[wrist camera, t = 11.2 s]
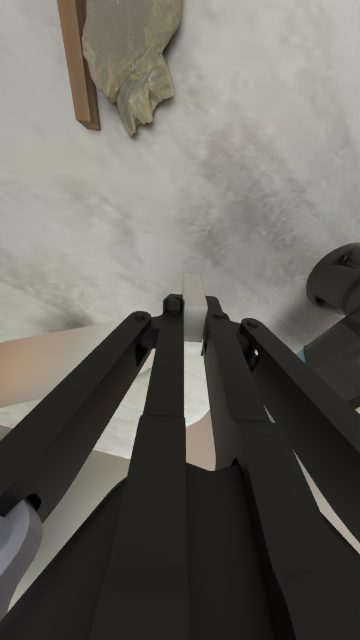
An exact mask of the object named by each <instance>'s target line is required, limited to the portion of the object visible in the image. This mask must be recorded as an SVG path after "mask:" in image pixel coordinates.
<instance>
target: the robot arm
mask: <svg viewBox="0 0 360 640" xmlns="http://www.w3.org/2000/svg"><path fill="white" fill-rule="evenodd" d="M307 295H308V297H309V299H310V300H311V301H312V302H313V303H314V304H315V305H317V306H318V307H320V308H322V309H324V310H327V311H331V312H335V313H339V314H343V315H346V317H344V318H343V319H342V320H341V321H339V322H338V323H336V324H335V325H334V326H332V327H331V328H330V329H328V330H327V331H326V332H324V333H323V334H322V335H320V336H319V337H318V338H316V339H315V340H313V341H312V342H311V343H309V344H308V345H306V346H304V347H303V348H302V350H301V351H299V352H298V353H297V354H295V353H294V352H293V351H292V350H290V349H289V348H288V347H287V346H286V345H285V344H284V343H283V342H282V341H281V340H280V339H279V338H278V337H276V336H275V335H274V334H273V333H272V332H271V331H270V330H269V329H268V328H267V327H266V326H265V325H264V324H262V323H261V322H260V321H258V320H256V319H253V318H245V319H243V320H242V321H241V323H236V322H233V321H230V319H229V316H228V315H227V314H225V313H224V312H223V311H222V309H221V306H220V303H219V300H218V299H217V298H216V297H213V296H205V293H204V289H203V285H202V280H201V276H200V274H194V273H184V275H183V287H182V295H179V294H170V295H168V296H167V298H165V299H164V300H163V314H162V315H160V316H157V317H151V315H150V314H149V313H148V312H144V311H136V312H133V313H131V314H130V315H129V316H128V317H127V318H126V319H125V320H124V321H123V322H122V323H121V324H120V325H119V326H118V327H117V328H116V329H115V330H114V331H112V332H111V333H110V334H109V335H108V336H107V337H106V338H105V339H104V340H103V341H102V342H101V343H100V344H99V345H98V346H97V347H96V348H95V349H94V350H93V351H92V352H91V353H90V354H89V355H88V356H87V357H86V358H85V359H84V360H83V361H82V362H81V363H80V364H79V365H78V366H77V367H76V368H75V369H74V370H73V371H72V372H71V373H69V374H68V375H67V377H66V378H64V379H63V380H62V381H61V382H60V383H59V384H58V385H57V386H56V387H55V388H54V389H53V390H52V391H51V392H50V393H49V394H48V395H47V396H46V397H45V398H44V399H43V400H42V401H41V402H40V403H39V404H38V405H37V406H36V407H35V408H34V409H33V410H32V411H31V412H30V413H29V414H28V415H26V416H25V417H24V418H23V419H22V420H21V421H20V422H19V423H18V424H17V425H16V426H15V427H14V428H13V429H12V430H11V431H10V432H9V433H8V434H7V435H6V436H5V437H4V438H3V439H2V440H1V441H0V640H360V554H359V553H358V552H357V551H356V550H355V549H354V548H353V547H352V545H351V544H350V543H349V542H348V541H347V540H346V539H345V538H344V537H343V536H342V535H341V534H340V532H339V531H338V530H336V528H335V527H334V526H333V525H332V524H331V523H330V522H329V521H328V520H327V519H326V517H325V516H324V515H323V514H322V513H321V512H320V510H319V508H318V505H317V503H316V501H315V499H314V496H313V494H312V492H311V490H310V487H309V485H308V483H307V481H306V478H305V476H304V474H303V472H302V469H301V467H300V465H299V463H298V460H297V458H296V456H295V454H294V452H295V453H296V455H297V456H298V458H299V459H300V461H301V462H302V464H303V466H304V467H305V469H306V470H307V472H308V473H309V474H310V476H311V478H312V479H313V481H314V482H315V484H316V486H317V487H318V489H319V490H320V492H321V493H322V495H323V496H324V497H325V499H326V500H327V502H328V503H329V505H330V506H331V507H332V509H333V510H334V512H335V513H336V514H337V516H338V517H339V518H340V519H341V520H342V522H343V523H344V524H345V526H346V527H347V528H348V530H349V531H350V532H351V533H352V534H353V536H354V537H355V538H356V539H357V540H358V541H359V543H360V243H355V244H349V245H346V246H343V247H340V248H338V249H336V250H334V251H333V252H331V253H330V254H328V255H327V256H326V257H324V258H323V259H322V260H321V261H320V262H319V263H318V264H317V265H316V267H315V268H314V270H313V271H312V273H311V275H310V277H309V279H308V282H307ZM202 339H203V347H202V352H201V356H204V364H205V372H206V380H207V388H208V396H209V404H210V412H211V420H212V428H213V436H214V444H215V453H216V466H215V471H208V470H205V469H202V468H200V467H197V466H195V465H192V464H189V463H186V426H185V418H184V341H187V342H202ZM154 348H156V351H155V356H154V361H153V366H152V371H151V376H150V381H149V386H148V391H147V396H146V402H145V407H144V411H143V415H141V416H140V419H139V423H138V427H137V432H136V437H135V441H134V446H133V451H132V456H131V461H130V465H129V470H128V475H127V477H125V478H124V479H123V480H122V481H120V482H119V483H118V484H117V485H116V486H115V487H114V488H113V489H112V490H111V491H110V492H109V493H108V494H107V495H106V496H105V497H104V499H103V500H102V501H101V502H100V503H99V505H98V506H97V507H96V508H95V510H94V511H93V512H92V513H91V514H90V515H89V517H88V518H87V519H86V520H85V521H84V522H83V524H82V525H81V526H80V527H79V528H78V530H77V531H76V532H75V533H74V534H73V536H72V537H71V538H70V539H69V540H68V542H67V543H66V544H65V545H64V546H63V547H62V549H61V550H60V551H59V552H58V553H57V555H56V556H55V557H54V558H53V559H52V561H51V562H50V563H49V564H48V565H47V567H46V568H45V569H44V570H43V571H42V573H41V574H40V575H39V576H38V577H37V579H36V580H35V581H34V582H33V583H32V584H31V586H30V587H29V588H28V589H27V590H26V592H25V593H24V594H23V595H22V596H21V597H20V599H19V600H18V601H17V602H16V603H15V605H14V606H13V607H12V608H11V609H10V611H9V612H8V613H7V611H8V607H9V604H10V600H11V598H12V596H13V594H14V592H15V590H16V587H17V585H18V583H19V582H20V580H21V578H22V577H23V575H24V574H25V572H26V571H27V569H28V568H29V566H30V564H31V563H32V561H33V560H34V558H35V556H36V553H37V551H38V549H39V547H40V543H41V539H42V530H43V526H42V523H43V522H44V521H45V520H46V518H47V517H48V516H49V515H50V513H51V512H52V511H53V509H54V508H55V507H56V506H57V504H58V503H59V501H60V500H61V499H62V498H63V496H64V495H65V493H66V491H67V490H68V488H69V487H70V485H71V484H72V482H73V481H74V479H75V477H76V476H77V474H78V472H79V471H80V469H81V467H82V466H83V464H84V463H85V461H86V459H87V457H88V456H89V454H90V453H91V451H92V449H93V448H94V446H95V444H96V443H97V441H98V439H99V438H100V436H101V434H102V433H103V431H104V429H105V428H106V426H107V424H108V423H109V421H110V419H111V418H112V416H113V414H114V413H115V411H116V409H117V408H118V406H119V404H120V403H121V401H122V400H123V398H124V396H125V395H126V393H127V391H128V390H129V388H130V386H131V385H132V383H133V381H134V380H135V378H136V376H137V375H138V373H139V371H140V370H141V368H142V366H143V365H144V363H145V361H146V360H147V358H148V356H149V355H150V353H151V350H152V349H154ZM255 350H257V352H258V355H256V354H255ZM263 404H264V405H263ZM264 406H265V407H266V409H267V410H268V411H269V413H270V415H271V416H272V418H273V420H274V421H275V423H272V422H271V421H270V419H269V417H268V415H267V412H266V410H265V407H264ZM293 450H294V451H293Z"/></svg>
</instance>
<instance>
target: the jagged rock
mask: <svg viewBox="0 0 360 640" xmlns="http://www.w3.org/2000/svg"><path fill="white" fill-rule="evenodd" d="M86 13H87V17H86V22H85V24H84V29H83V36H82V48H83V56H84V57H85V59H86V60H87V62H88V66H89V70H90V75H91V78H92V80H93V82H94V84H95V85H96V87H97V89H98V90H100V91H101V92H102V93H104V94H105V95H106V96H107V97H108V100H109V102H110V103H111V104H112V105H115V103H116V104H117V108H118V112H119V115H120V117H121V119H122V122H123V124H124V126H125V128H126V130H127V132H128V134H129V136H130V137H132V135H133V134H134V133H135V132H136V127H137V126H138V125H139V124H140V123H141V124H143V125H145V123H146V122H148V123H151V122H152V121H154V120H153V116H152V114H153V111H154V109H155V107H156V105H157V104H158V103H160V102H161V101H162V100H163V99H167V98H170V97H171V96H173V95H174V87H173V84H172V80H171V76H170V71H169V68H168V65H167V63H166V60H165V58H164V56H163V54H162V53H163V50H164V48H165V47H166V45H167V44H168V43H169V41H170V39H171V37H172V35H173V34H174V33H175V32H176V30H177V29H178V27H179V26H180V22H181V19H182V0H87V4H86Z"/></svg>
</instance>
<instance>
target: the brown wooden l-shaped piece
mask: <svg viewBox="0 0 360 640" xmlns="http://www.w3.org/2000/svg"><path fill="white" fill-rule="evenodd" d="M57 3H58V10H59V16H60V22H61V28H62V35H63V41H64V47H65V54H66V60H67V66H68V72H69V79H70V85H71V91H72V97H73V104H74V110H75V116H76V120H77V121H78V122H80V123H81V124H82V125H83V126H85V127H86V128H87V129H92V130H101V129H100V120H99V111H98V102H97V93H96V85H95V84H94V82H93V80H92V78H91V75H90V70H89V66H88V62H87V60H86V59H85V57H84V56H83V48H82V36H83V29H84V24H85V22H86V17H87V13H86V4H87V3H86V0H57Z"/></svg>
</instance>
